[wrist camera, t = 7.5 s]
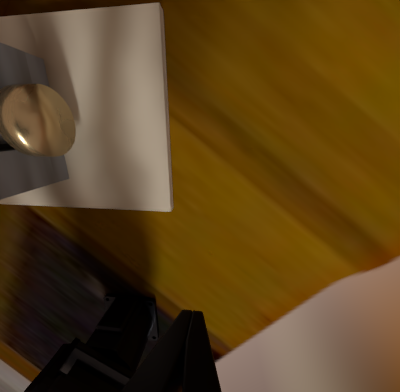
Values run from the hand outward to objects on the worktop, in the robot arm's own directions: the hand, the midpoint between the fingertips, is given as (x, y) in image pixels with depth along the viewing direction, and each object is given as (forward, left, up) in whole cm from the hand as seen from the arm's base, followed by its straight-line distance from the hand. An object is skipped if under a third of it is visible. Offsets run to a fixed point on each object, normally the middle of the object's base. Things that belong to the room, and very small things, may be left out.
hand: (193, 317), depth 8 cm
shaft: (+8, +18, -10) cm, 22 cm away
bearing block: (+8, +15, -12) cm, 21 cm away
